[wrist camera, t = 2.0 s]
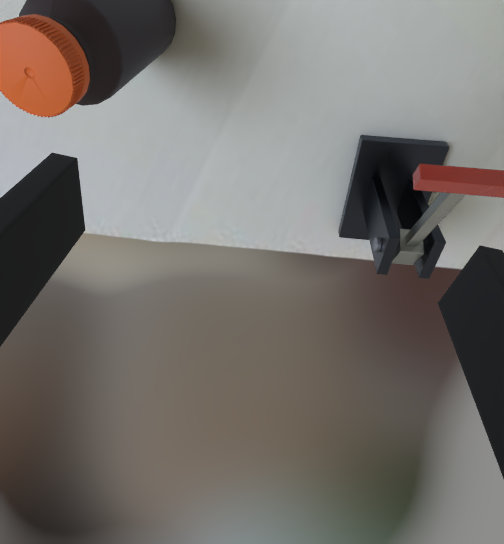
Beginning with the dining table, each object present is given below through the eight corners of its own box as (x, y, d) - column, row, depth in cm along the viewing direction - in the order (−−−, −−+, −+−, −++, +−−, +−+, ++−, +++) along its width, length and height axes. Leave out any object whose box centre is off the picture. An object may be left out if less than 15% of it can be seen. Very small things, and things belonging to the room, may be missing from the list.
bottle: (168, 67, 39) (86, 150, 24) (101, 39, 38) (-29, 107, 23) (184, -10, 35) (96, 32, 20) (109, -44, 34) (-44, -27, 19)
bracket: (360, 134, 42) (378, 195, 32) (445, 141, 42) (489, 204, 32) (338, 231, 50) (347, 301, 40) (409, 237, 50) (435, 310, 40)
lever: (419, 156, 27) (420, 186, 26) (514, 164, 27) (519, 194, 26) (368, 239, 39) (368, 261, 39) (433, 245, 39) (435, 267, 38)
